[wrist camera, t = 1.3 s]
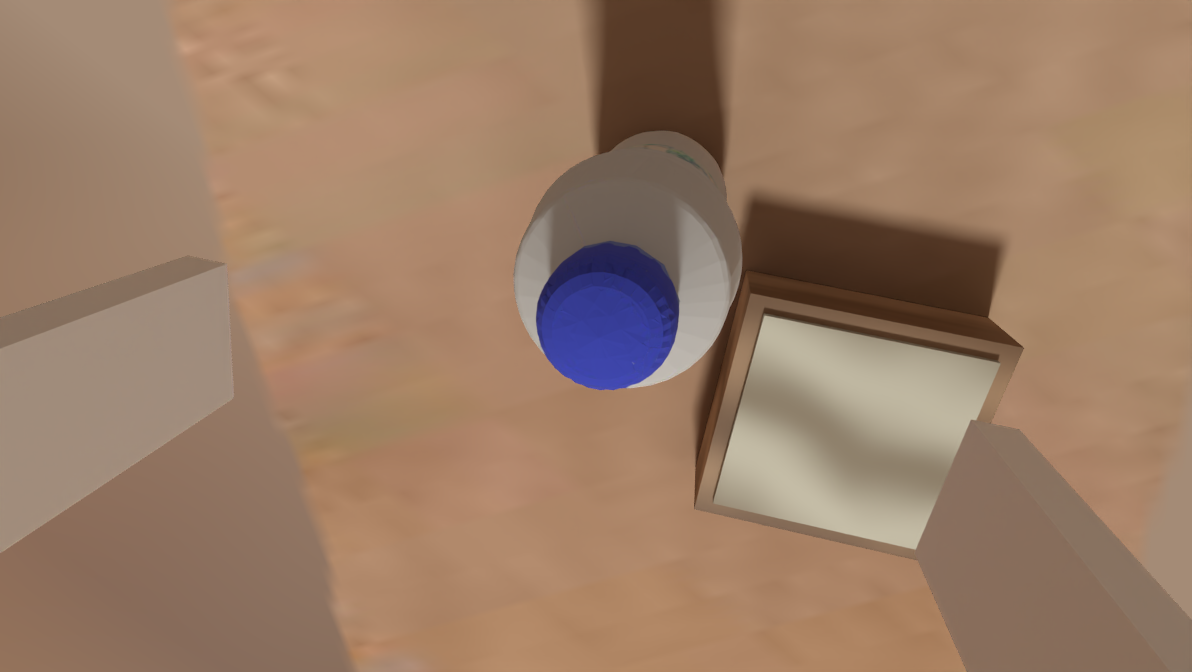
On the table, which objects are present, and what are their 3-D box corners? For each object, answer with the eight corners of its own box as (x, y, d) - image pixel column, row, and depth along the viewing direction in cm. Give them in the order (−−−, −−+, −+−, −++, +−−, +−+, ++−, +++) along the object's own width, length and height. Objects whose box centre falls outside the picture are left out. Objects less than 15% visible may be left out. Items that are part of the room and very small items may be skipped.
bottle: (707, 273, 34) (704, 499, 16) (581, 240, 35) (435, 422, 16) (747, 141, 32) (801, 227, 13) (611, 107, 32) (478, 143, 14)
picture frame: (746, 270, 34) (751, 295, 30) (988, 317, 33) (1027, 350, 29) (695, 467, 38) (694, 512, 34) (906, 515, 37) (930, 566, 33)
